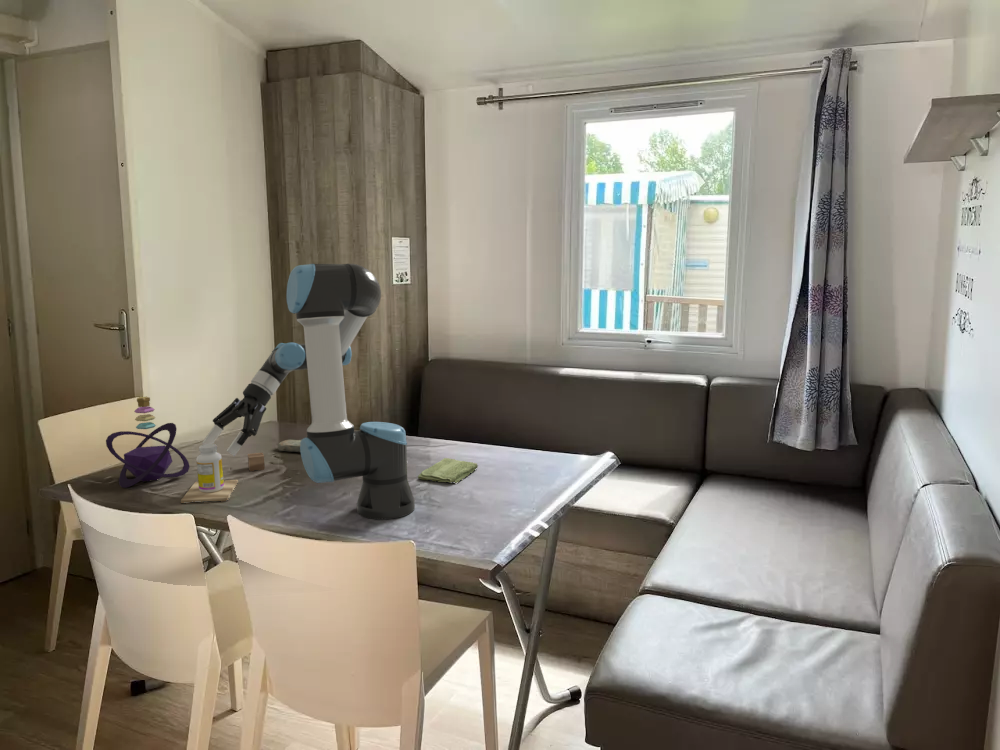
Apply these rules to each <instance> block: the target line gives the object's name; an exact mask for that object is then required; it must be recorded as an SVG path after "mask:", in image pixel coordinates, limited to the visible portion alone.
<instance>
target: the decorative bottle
mask: <svg viewBox="0 0 1000 750" xmlns="http://www.w3.org/2000/svg"><path fill="white" fill-rule="evenodd" d="M136 402H137V408H136V409H135V410H134V413H136V414H139V415H138V416H137V417H136V418H135V419H134V421H136V422H139V424H137V425H136V426H135V429H137V430H149V429H153V428H155V427H156V426H157V424H155V423H154V422H151V421H152V420H155V419H156V417H155V416H154V415H152V414H149V413H152V412H154V411H155V408H153V407H152V406H150V404H151V403H150V402H151V397H149V396H139V397H137V398H136ZM163 431H168V433H169V437H168V441H165V440H162V439H161V438H157V437H156V436H155V435H157V434H158V433H161V432H163ZM124 435H125V436H126V435H128V436H129V435H131V436H132V435H133V436H141V437H145V438H143V440H142V441H141V442H139V444H138V445H137V446H136V447H135V448H134V449H133V448H132V449H131V450H130V451H128V452H125V453H124V454H123V458H122V457H121V456H120V454H118V453H117V452H116V450H115V448H114V446H113V441H114V440H115V439H116V438H118V437H120V436H124ZM176 435H177V425H176V424H175V423H174V422H167V423H165V424H162V425H161V426H159V427H157V428H156V429H154V430H153V431H152V432H150V433H149V434H145V433H142V432H138V431H136V432H135V431H129V430H128V431H127V430H126V431H120V430H119V431H116V432H112V433H111V434H110V435H108V436H107V437H106V440H105V444H106V447H107V450H108V451H109V452H110V453H111V455H112V456H113V457H114V458H115V459H116V460H119V462H121V463H123V464H124V465H123V466H122V468H121V471H120V472H119V473H120V474H119V477H118V484H119V486H120V487H121V488H125V489H126V488H130V487H131V486H134V485H136V484H138V483H139V482H143V483H145V482H144V481H147V482H151V481H150V480H155V481H158V480H157V479H159V480H160V479H161V478H178V477H182V476H185V475H186V474H187V473H188V472H189V470H190V463H189V460H188V459H187V457H186V456H185V455H184V453H182V451H180V450H179V449H178V448H176V447H175V446H173V442H174V440H175V437H176ZM150 439H151V440H154V441H156V442H159V443H160V444H163V445H153V446H144V445H145V444H146V443H147V442H148V441H149V440H150ZM170 449H171V450H173V451H174V452H175V453H176V454H177V455H178V456H179V458H180V459H181V460H182V463H183V467H182V468H181V470H179V471H177V472H174V473H166V471H167V470H168V469H169V467H170V465H171V464H172V463H173V458H172V455H171V451H170ZM127 471H129V473H131V474H132V475H133V476H134V478H127Z"/></svg>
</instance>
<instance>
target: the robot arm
mask: <svg viewBox="0 0 1000 750" xmlns="http://www.w3.org/2000/svg"><path fill="white" fill-rule="evenodd" d="M381 298H382V289H381V286H380V283H379V280H378V279H377V277H376V276H375V274H373V272H371V271H370V270H369V269H368V268H366V267H364V266H363V265H361V264H355V263H309V264H300V265H296V266H294V268H293V269H292V270H291V271H290V273H289V276H288V281H287V285H286V304H287V309H288V311H289V312H290V313H292V314H295V316H296V317H295V318H296V321H297V323H299V324H300V325H302V326H303V334H304V343H296V342H287V343H283V342H279V343H278V344H277V345H276V347H274V349H272V351H271V353H270V354H269V355H268V357H267V359H266V360H265V361H264V363H263V364H262V365H261V367H260V368H259V369H258V371H257V372H256V374H255V375H254V377H252V379H251V380H250V383H249V384H247V386H246V387H245V389H243V391H242V394H243V398H242V399H239V398H238V397H236V398H235V399H234V400H233V401H232V402H231V403H230V404H229V405H227V407H226V408H224V409H223V410H222V411H221V412H220V413H219V414H217V416H215V417H214V418H213V419H212V422H213V424H214V425H213V427H212V428H211V429H210V431H208V433H207V435H206V437H204V439H203V440H202V442H201V445H204V444H215V442H216V440H217V439H218V437H219V436H220V435H221V434H222V432H223V431H224V427H226V426H228V425H229V424H231V423H233V421H235V420H237V419H239V418H242V417H243V418H244V419H243V426H242V429H240V431H239V432H238V434H237V435H236V436H235V438H234V439H233V440H232V442H231V444H230V445H229V446H228V448H227V449H226V450H225V452H227V453H228V454H230V455H231V456H233V457H236V455H237V454H238V452H239V450H240V449H241V448H242V447H243V445H244V443H246V441H247V439H248V438H250V437H251V436H253V437H255V436H256V435H257V434H258V431H259V427H260V425H261V422H262V420H263V417H264V414H265V412H266V410H267V407H266V405H267V404H268V402H270V400H271V398H272V396H273V395H274V394H275V393H276V392H277V391H278V388H279V387H280V385H282V383H283V381H284V380H285V378H286V377H287V376H288V374H289V373H291V372H293V371H302V370H303V371H304V370H307V378H308V379H307V380H308V389H309V390H308V391H309V400H310V401H309V403H310V413H311V424H310V425H309V426H308V427H307V429H306V437H303V438H302V439H300V440H301V442H300V452H299V453H300V456H301V461H302V464H303V467H304V469H305V471H306V474H307V476H308V477H309V479H310V480H311V481H312V482H314V483H316V484H323V483H334V482H335V481H336V482H337V481H341V480H347V479H354V478H359V477H362V483H361V486H360V487H361V488H360V489H359V490H360V491H359V494H358V498H357V501H356V512H357V514H358V515H360V516H361V517H363V518H367V519H373V520H390V519H397V518H401V517H404V516H407V515H409V514H411V513H413V512H414V510H415V509H416V504H415V498H414V497H415V496H414V495H413V492H412V490H411V487H410V483H409V481H408V457H407V456H408V452H407V451H408V449H407V448H408V442H407V435H406V430H405V428H404V427H402V426H401V425H399V424H396V423H391V422H385V421H384V422H383V421H368V422H367V421H366V422H362V423H361V424H360V427H359V430H355V425H354V424H353V423H351V421H349V420H348V414H347V403H346V390H345V389H346V388H345V382H344V381H345V380H344V368H343V366H347V365H349V364H350V363H351V361H352V356H353V355H352V354H353V353H352V347H351V345H352V344H353V342H354V340H355V338H356V337H357V335H358V334H359V331H360V330H361V328H362V326H363V324H364V323H365V321H366V319H367V318H368V317H370V316H373V315H374V314H375V312H376V311H377V309H378V307H379V305H380V303H381Z"/></svg>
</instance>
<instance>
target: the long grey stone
mask: <svg viewBox="0 0 1000 750" xmlns="http://www.w3.org/2000/svg"><path fill="white" fill-rule="evenodd" d="M301 440H302V439H285V440H282V441H280V442H278V444H277V450H278V451H279V452H292V453H293V452H294V453H301V452H300V442H301Z"/></svg>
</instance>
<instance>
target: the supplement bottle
mask: <svg viewBox="0 0 1000 750" xmlns="http://www.w3.org/2000/svg"><path fill="white" fill-rule="evenodd" d="M217 450H218V445H217V444H216V443H213V444H200V445H199V446H198V451H199V453H200V454H198V455H197V456H196V459H195V460H196V468H197V482H198V484H199V490H200V491H201V492H205V493H210V492H216V491H219V490H221V489H223V487H224V472H223V460H222V459H223V458H222V454H221V453H220V452H217Z"/></svg>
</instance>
